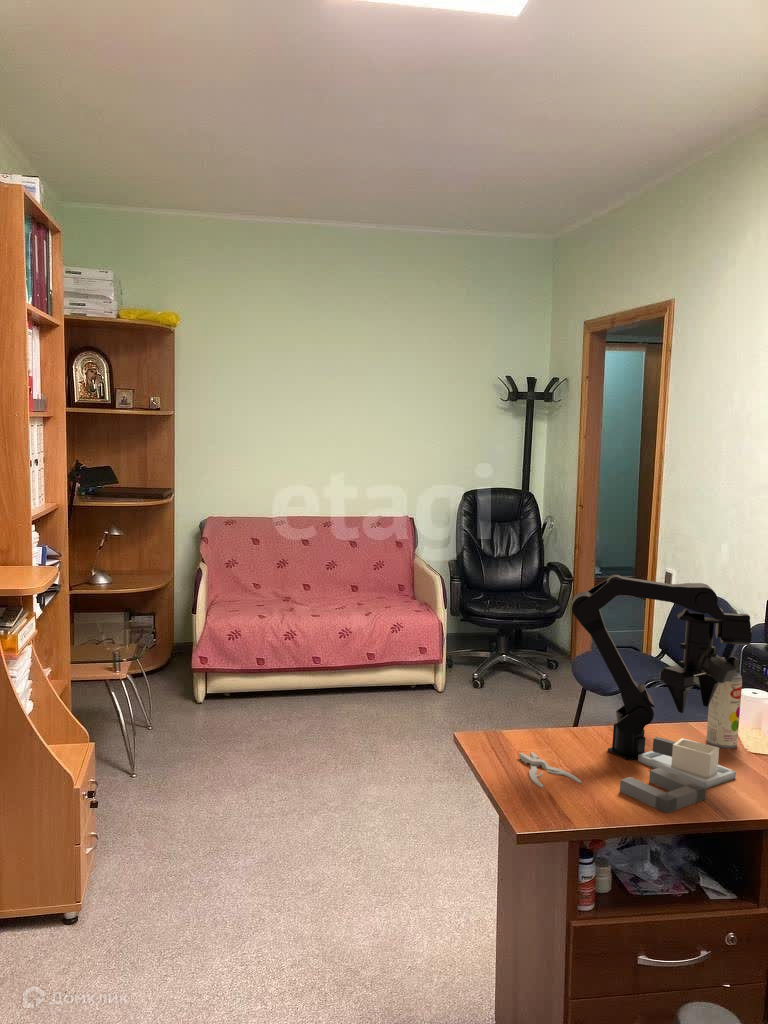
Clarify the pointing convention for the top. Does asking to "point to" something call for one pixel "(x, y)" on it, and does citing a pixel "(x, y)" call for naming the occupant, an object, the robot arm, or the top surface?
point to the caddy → (689, 756)
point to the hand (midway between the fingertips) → (693, 709)
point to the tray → (665, 763)
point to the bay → (677, 798)
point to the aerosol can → (725, 714)
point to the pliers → (537, 762)
